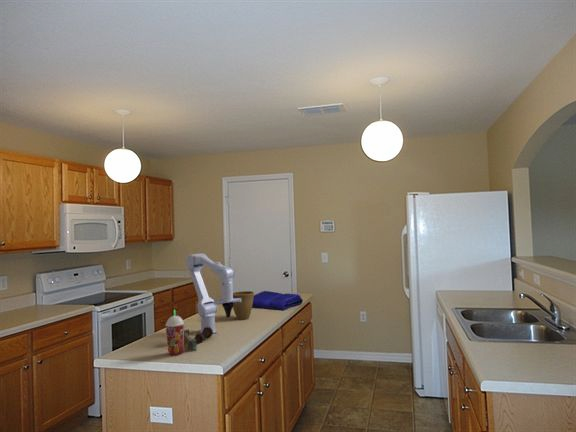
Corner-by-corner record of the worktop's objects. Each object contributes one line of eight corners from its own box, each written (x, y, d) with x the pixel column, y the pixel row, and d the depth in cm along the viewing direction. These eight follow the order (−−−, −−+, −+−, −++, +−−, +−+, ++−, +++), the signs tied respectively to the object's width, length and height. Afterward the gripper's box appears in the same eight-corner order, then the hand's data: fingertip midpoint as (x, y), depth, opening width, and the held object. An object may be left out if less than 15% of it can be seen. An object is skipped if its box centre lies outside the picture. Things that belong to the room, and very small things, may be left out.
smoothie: (187, 350, 187) (185, 307, 187) (183, 356, 179) (181, 311, 179) (169, 351, 187) (167, 308, 187) (164, 357, 178) (162, 312, 179)
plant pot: (256, 315, 255) (255, 290, 256) (252, 321, 241) (251, 294, 241) (233, 316, 257) (233, 291, 257) (228, 321, 242) (227, 295, 243)
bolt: (194, 348, 196) (207, 338, 211) (202, 343, 195) (214, 334, 210) (188, 338, 197) (201, 329, 211) (196, 333, 196) (209, 324, 210)
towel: (284, 311, 267) (284, 298, 267) (242, 307, 285) (242, 295, 286) (303, 304, 289) (303, 291, 289) (263, 301, 308) (263, 289, 308)
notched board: (183, 339, 205) (182, 330, 205) (189, 339, 206) (188, 329, 207) (189, 351, 185) (189, 340, 185) (196, 350, 186) (196, 339, 186)
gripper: (215, 293, 203) (216, 320, 202) (242, 290, 208) (243, 317, 208) (212, 291, 209) (213, 317, 209) (239, 289, 215) (240, 314, 214)
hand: (228, 317), depth 209 cm, fingers closed
